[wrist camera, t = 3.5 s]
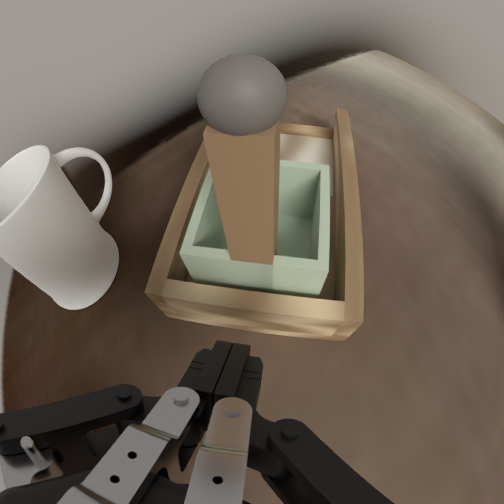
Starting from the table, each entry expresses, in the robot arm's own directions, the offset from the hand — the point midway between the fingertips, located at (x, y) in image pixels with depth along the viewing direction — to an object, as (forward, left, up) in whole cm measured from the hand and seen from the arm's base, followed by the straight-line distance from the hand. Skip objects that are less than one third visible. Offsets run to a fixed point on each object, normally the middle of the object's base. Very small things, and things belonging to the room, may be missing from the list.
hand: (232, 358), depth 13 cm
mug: (+16, -7, -8) cm, 19 cm away
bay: (0, -14, -7) cm, 16 cm away
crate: (0, -9, -6) cm, 11 cm away
